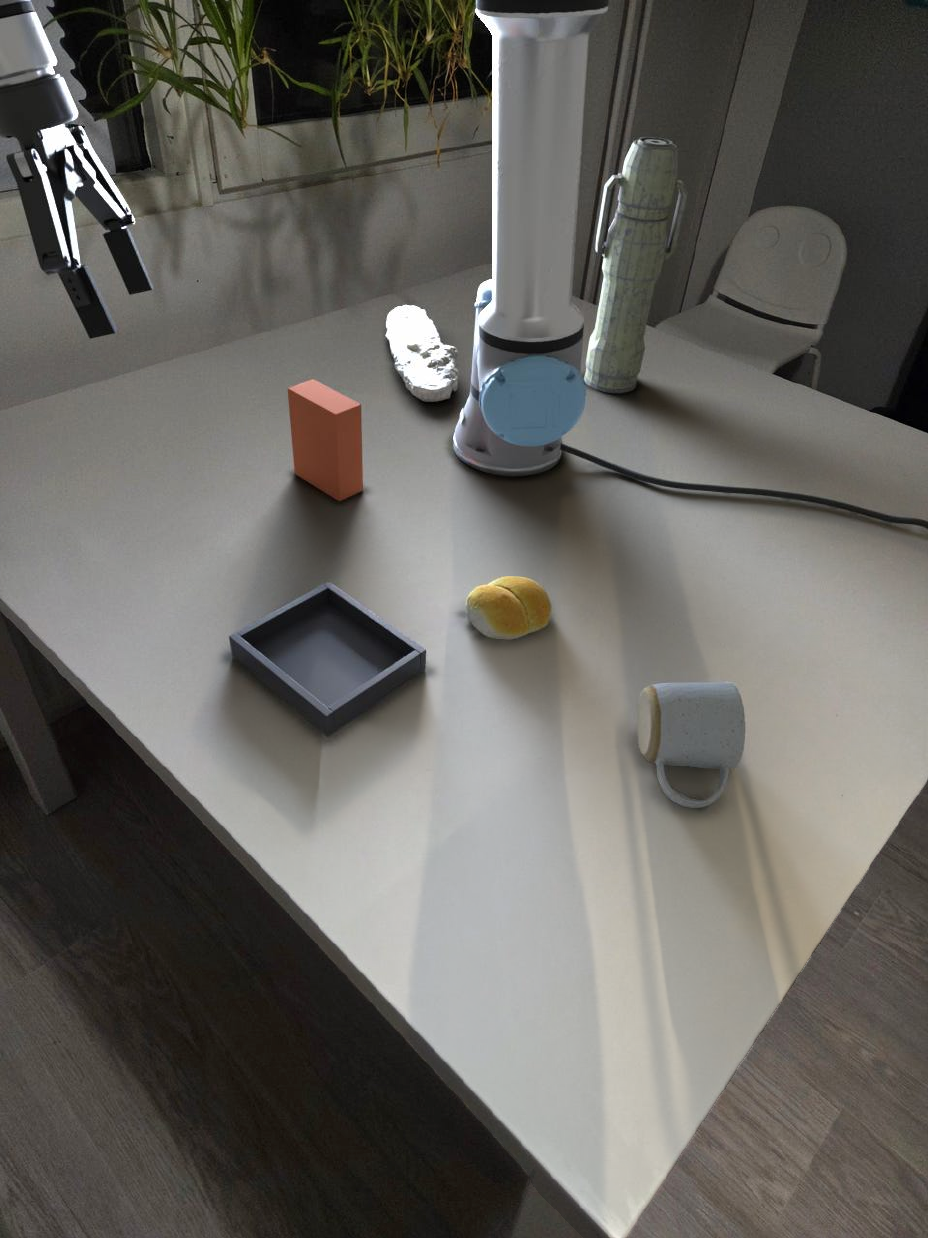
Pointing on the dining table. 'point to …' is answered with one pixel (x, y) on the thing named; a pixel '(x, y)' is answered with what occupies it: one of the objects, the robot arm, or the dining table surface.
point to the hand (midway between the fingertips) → (124, 312)
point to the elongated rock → (421, 354)
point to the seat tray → (328, 656)
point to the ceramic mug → (691, 730)
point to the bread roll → (508, 607)
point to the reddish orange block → (326, 439)
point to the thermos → (633, 260)
